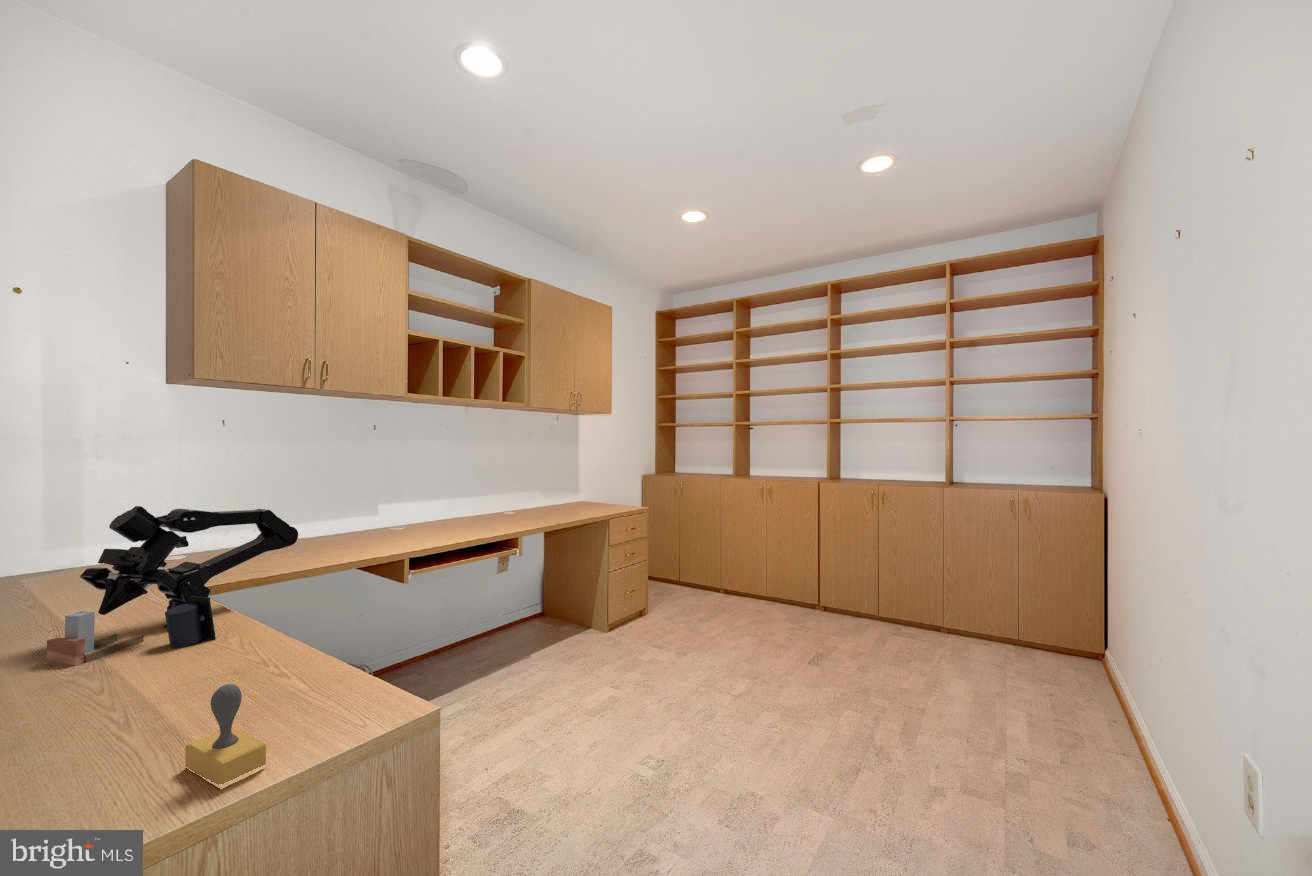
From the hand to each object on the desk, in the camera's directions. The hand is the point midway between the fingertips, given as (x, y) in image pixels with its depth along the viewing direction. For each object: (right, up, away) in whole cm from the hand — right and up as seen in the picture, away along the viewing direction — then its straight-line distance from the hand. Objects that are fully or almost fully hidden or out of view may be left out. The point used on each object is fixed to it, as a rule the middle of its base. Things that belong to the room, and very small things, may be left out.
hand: (101, 613), depth 116 cm
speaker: (+15, -9, +5) cm, 18 cm away
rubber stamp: (+60, -9, -41) cm, 73 cm away
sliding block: (0, -8, -4) cm, 9 cm away
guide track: (0, -8, -2) cm, 8 cm away
